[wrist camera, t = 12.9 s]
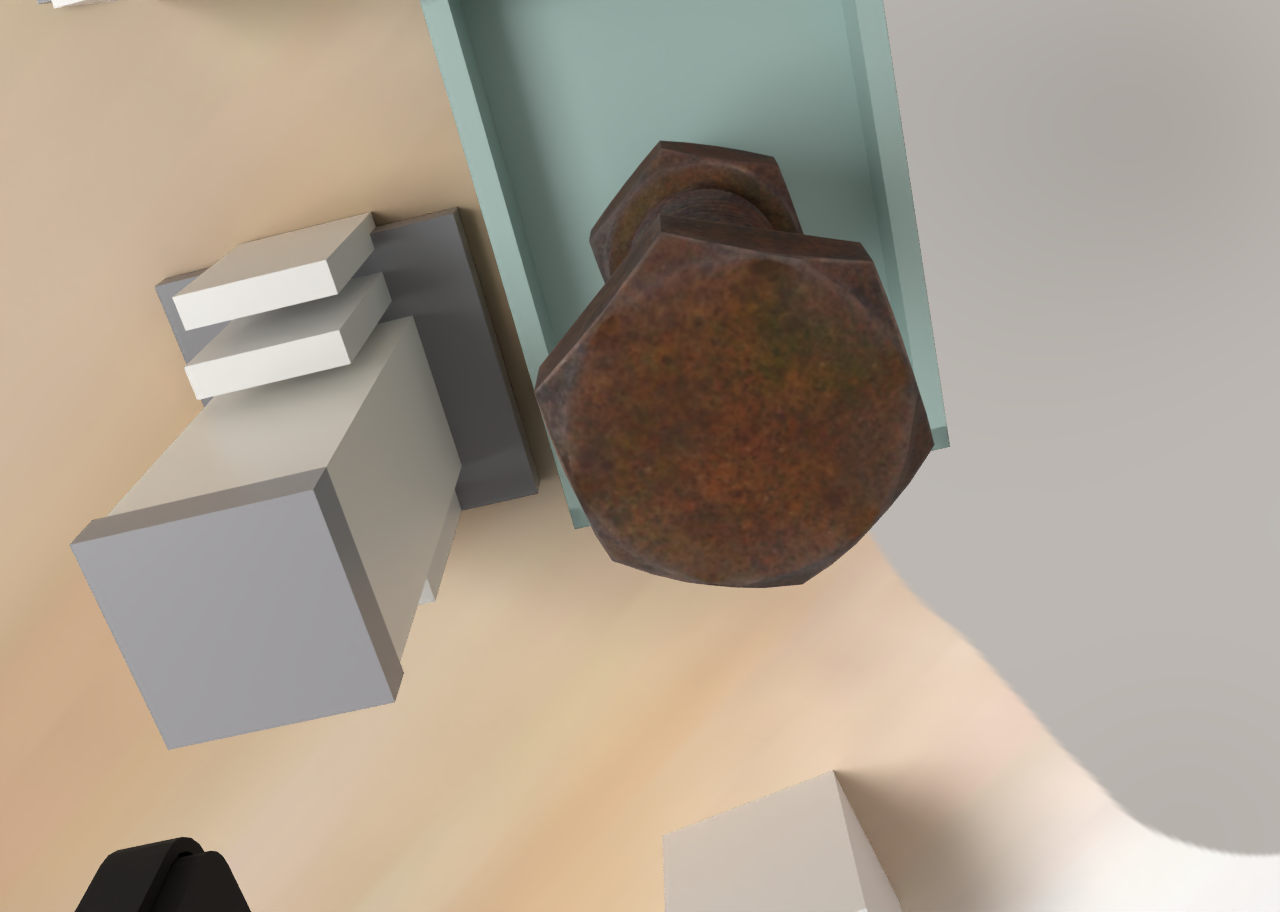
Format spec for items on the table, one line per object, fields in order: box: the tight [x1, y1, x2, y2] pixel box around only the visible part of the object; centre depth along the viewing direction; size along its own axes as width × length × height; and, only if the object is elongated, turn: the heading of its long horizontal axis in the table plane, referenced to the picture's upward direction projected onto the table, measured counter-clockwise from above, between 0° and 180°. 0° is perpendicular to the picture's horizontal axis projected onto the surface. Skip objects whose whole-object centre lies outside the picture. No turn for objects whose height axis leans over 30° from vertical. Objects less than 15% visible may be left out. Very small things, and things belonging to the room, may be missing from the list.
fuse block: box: [37, 0, 540, 750], centre depth 25 cm, size 23×8×12 cm, turn 14°
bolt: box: [534, 140, 935, 588], centre depth 24 cm, size 6×5×15 cm
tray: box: [420, 0, 950, 529], centre depth 30 cm, size 14×10×2 cm
